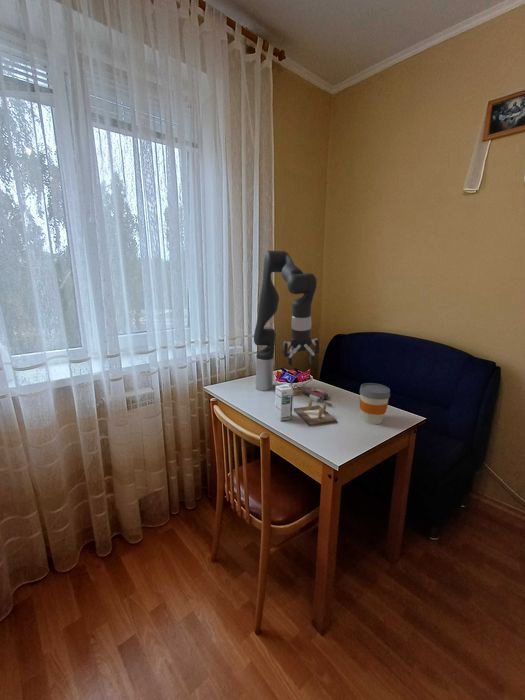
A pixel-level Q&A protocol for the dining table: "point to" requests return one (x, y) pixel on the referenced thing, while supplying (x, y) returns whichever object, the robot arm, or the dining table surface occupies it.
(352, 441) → the dining table surface
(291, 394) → the syrup box
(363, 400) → the reusable coffee cup
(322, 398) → the walkie-talkie
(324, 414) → the pin board
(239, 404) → the dining table surface
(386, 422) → the dining table surface
